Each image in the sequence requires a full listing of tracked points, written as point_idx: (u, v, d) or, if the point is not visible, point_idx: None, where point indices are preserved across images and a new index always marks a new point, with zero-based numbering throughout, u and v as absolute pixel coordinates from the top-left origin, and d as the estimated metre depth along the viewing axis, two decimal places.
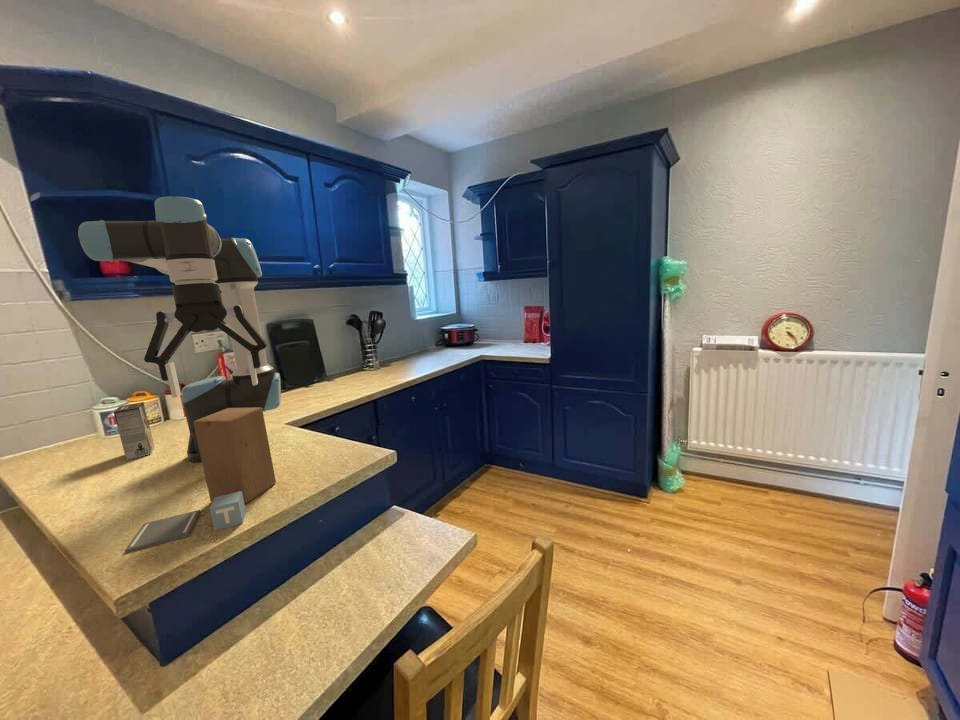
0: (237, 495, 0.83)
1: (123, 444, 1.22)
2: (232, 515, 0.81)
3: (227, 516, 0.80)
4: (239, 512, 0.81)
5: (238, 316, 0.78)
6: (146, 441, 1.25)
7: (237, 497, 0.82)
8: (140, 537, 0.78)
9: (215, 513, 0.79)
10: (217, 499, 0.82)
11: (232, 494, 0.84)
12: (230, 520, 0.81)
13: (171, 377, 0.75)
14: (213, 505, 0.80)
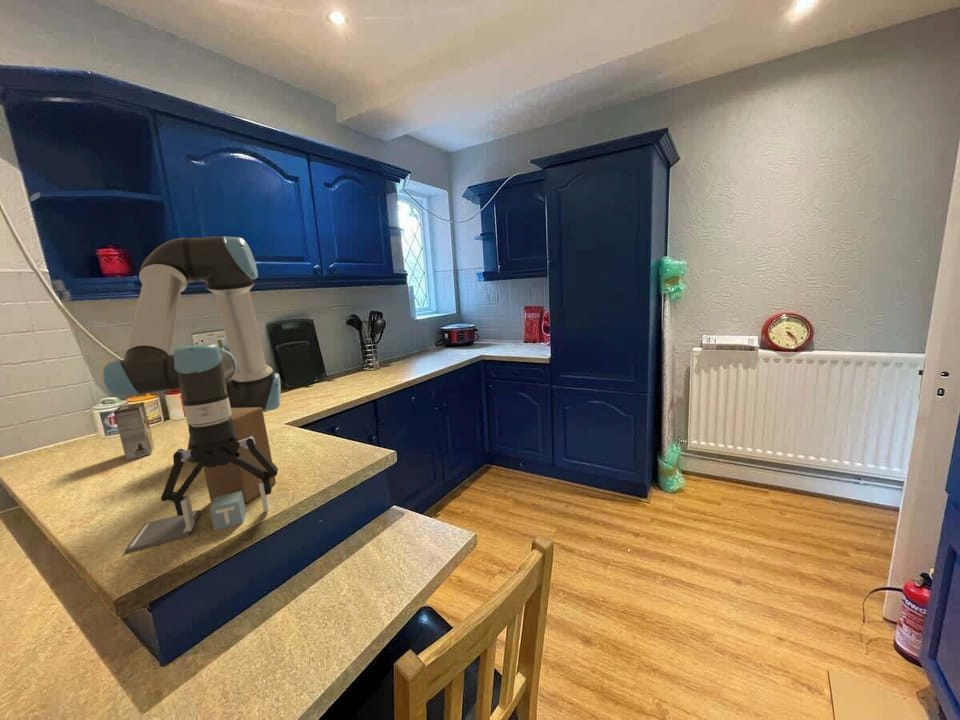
0: (236, 495, 0.83)
1: (123, 444, 1.22)
2: (232, 515, 0.81)
3: (227, 516, 0.80)
4: (239, 512, 0.81)
5: (251, 448, 0.81)
6: (146, 441, 1.25)
7: (237, 497, 0.82)
8: (140, 537, 0.78)
9: (214, 513, 0.79)
10: (217, 499, 0.82)
11: (232, 494, 0.84)
12: (230, 520, 0.81)
13: (186, 512, 0.78)
14: (213, 505, 0.80)
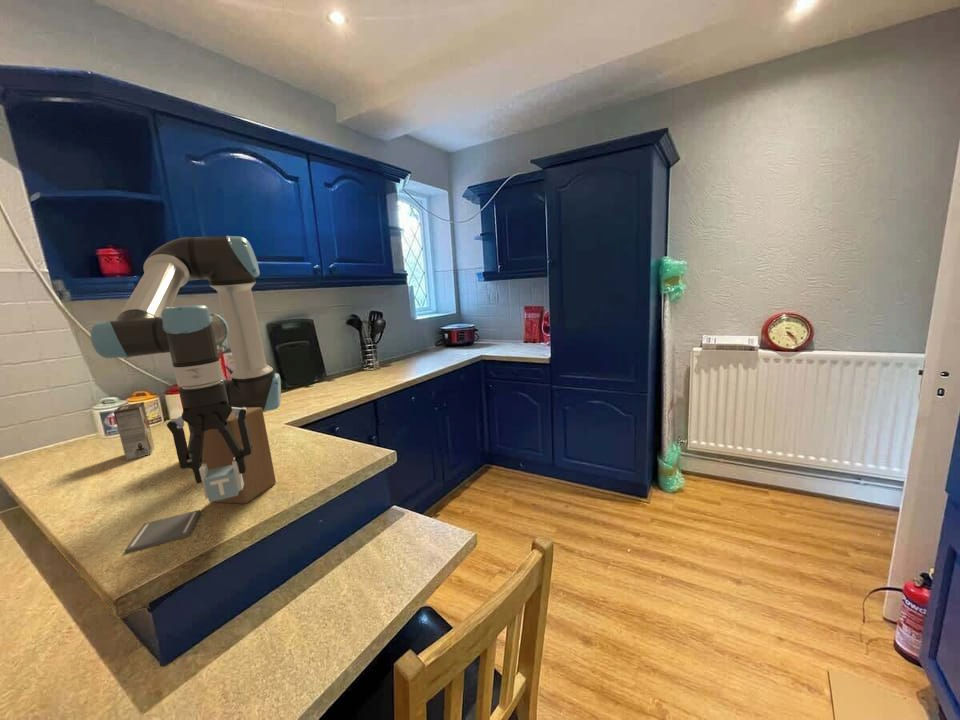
0: (231, 468, 0.82)
1: (123, 444, 1.22)
2: (227, 487, 0.80)
3: (222, 488, 0.79)
4: (234, 484, 0.80)
5: (240, 419, 0.80)
6: (146, 441, 1.25)
7: (232, 469, 0.82)
8: (140, 537, 0.78)
9: (209, 485, 0.79)
10: (212, 471, 0.82)
11: (227, 466, 0.83)
12: (225, 492, 0.80)
13: None
14: (207, 476, 0.79)
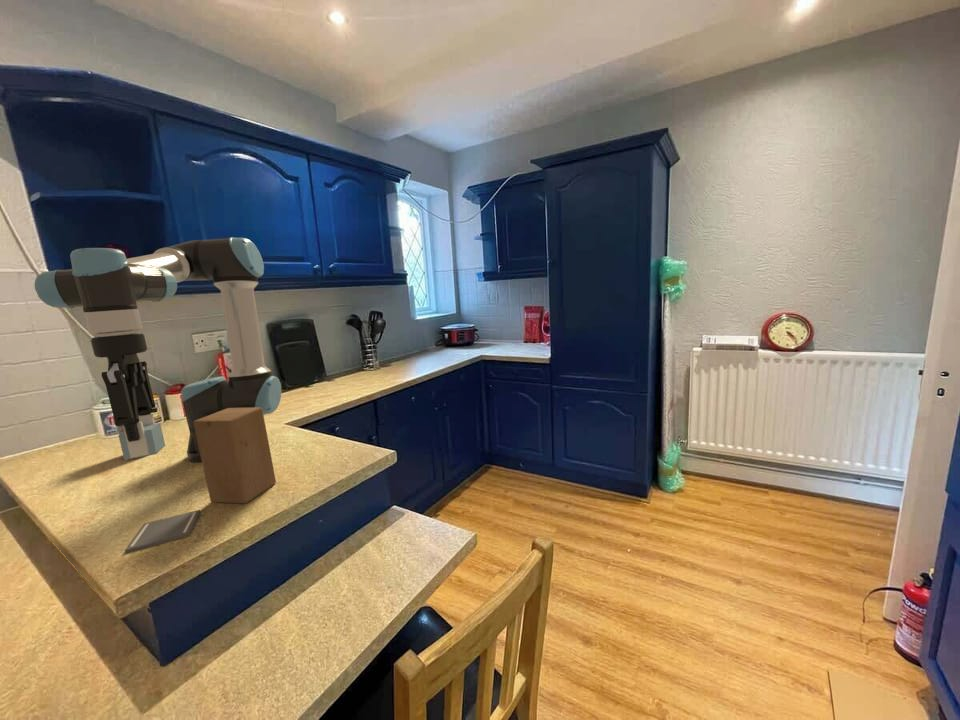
0: None
1: None
2: None
3: None
4: (121, 446, 0.74)
5: None
6: None
7: None
8: (140, 537, 0.78)
9: None
10: (150, 425, 0.79)
11: (149, 427, 0.77)
12: None
13: None
14: None
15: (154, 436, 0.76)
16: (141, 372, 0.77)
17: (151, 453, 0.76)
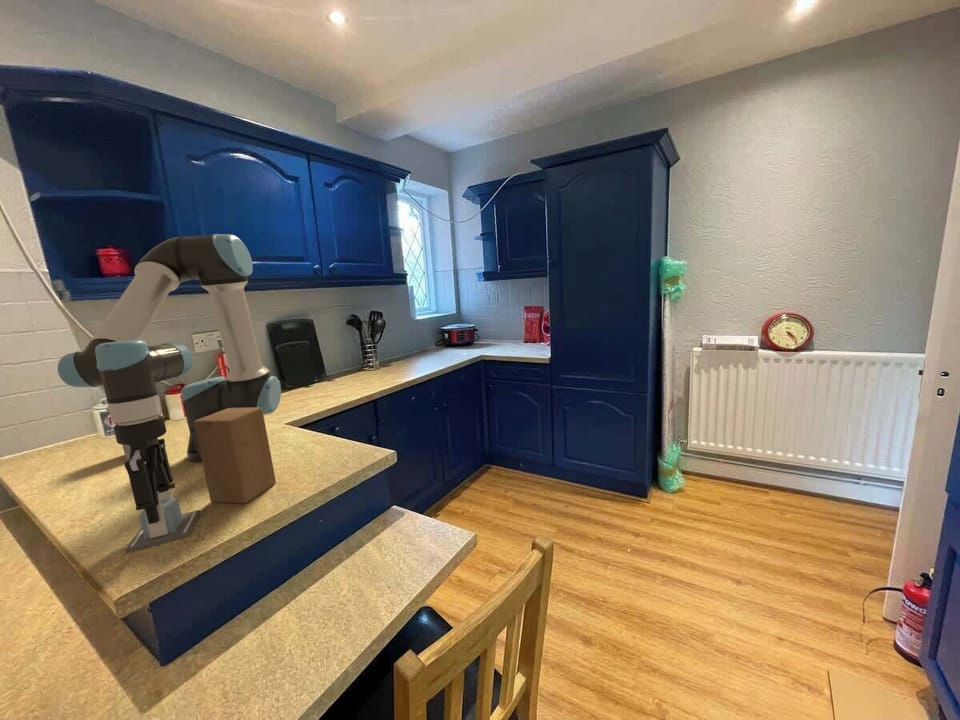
0: None
1: None
2: None
3: None
4: (142, 527, 0.77)
5: None
6: None
7: None
8: (140, 537, 0.78)
9: None
10: (168, 501, 0.82)
11: (168, 506, 0.80)
12: None
13: None
14: None
15: (172, 514, 0.79)
16: (160, 453, 0.80)
17: (170, 531, 0.79)
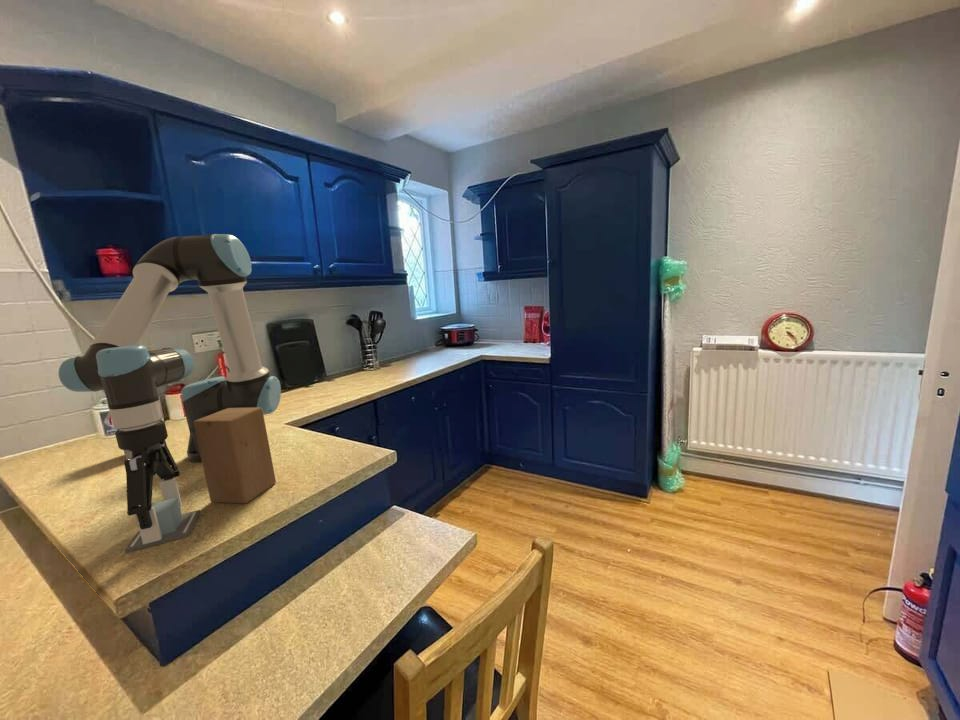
0: (158, 510, 0.78)
1: None
2: None
3: None
4: None
5: None
6: None
7: None
8: (140, 537, 0.78)
9: None
10: (168, 501, 0.82)
11: (168, 506, 0.80)
12: None
13: None
14: (153, 504, 0.81)
15: (172, 514, 0.79)
16: (162, 455, 0.81)
17: (170, 531, 0.79)
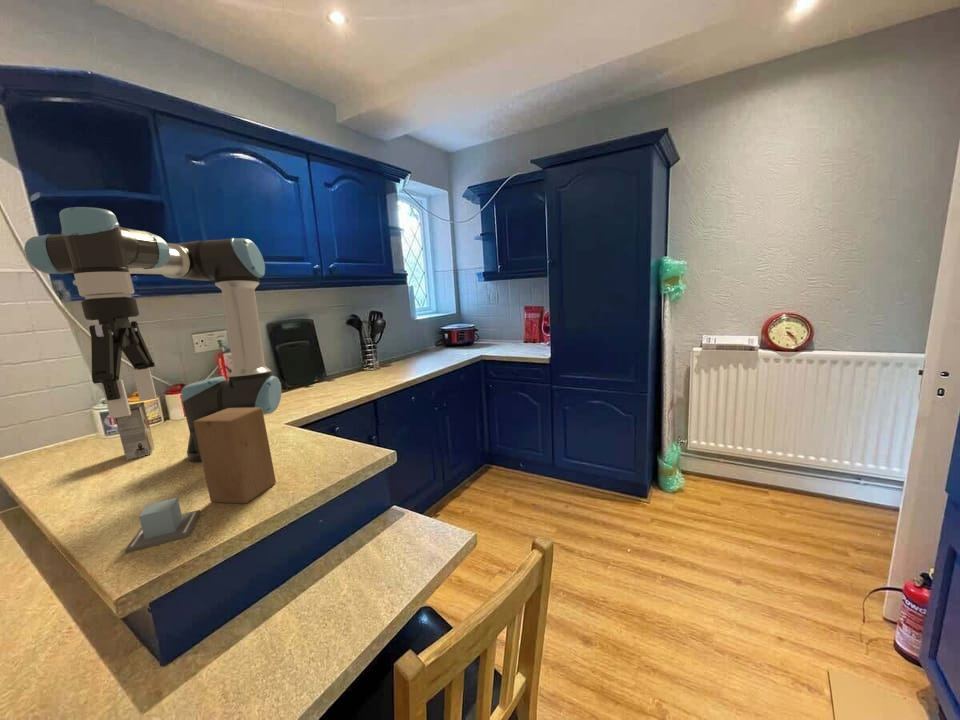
0: (158, 510, 0.78)
1: (123, 444, 1.22)
2: None
3: None
4: (142, 527, 0.77)
5: None
6: (146, 441, 1.25)
7: (152, 512, 0.78)
8: (140, 537, 0.78)
9: None
10: (168, 501, 0.82)
11: (168, 506, 0.80)
12: None
13: None
14: (153, 504, 0.81)
15: (172, 514, 0.79)
16: (134, 336, 0.76)
17: (170, 531, 0.79)
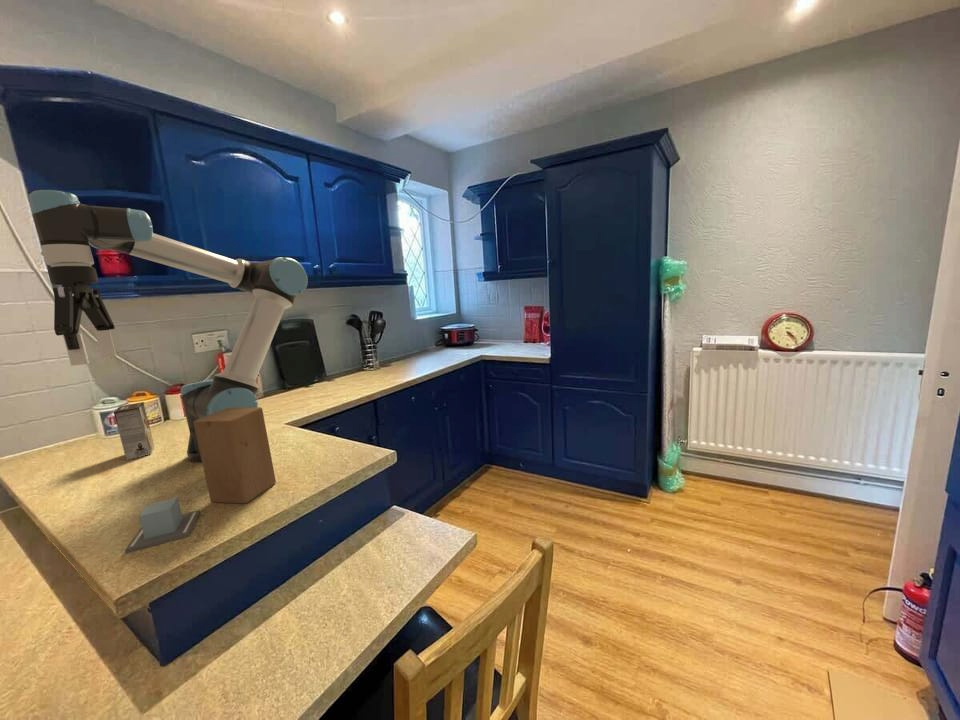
0: (158, 510, 0.78)
1: (123, 444, 1.22)
2: None
3: None
4: (142, 527, 0.77)
5: None
6: (146, 441, 1.25)
7: (152, 512, 0.78)
8: (140, 537, 0.78)
9: None
10: (168, 501, 0.82)
11: (168, 506, 0.80)
12: None
13: None
14: (153, 504, 0.81)
15: (172, 514, 0.79)
16: (94, 300, 0.91)
17: (170, 531, 0.79)
